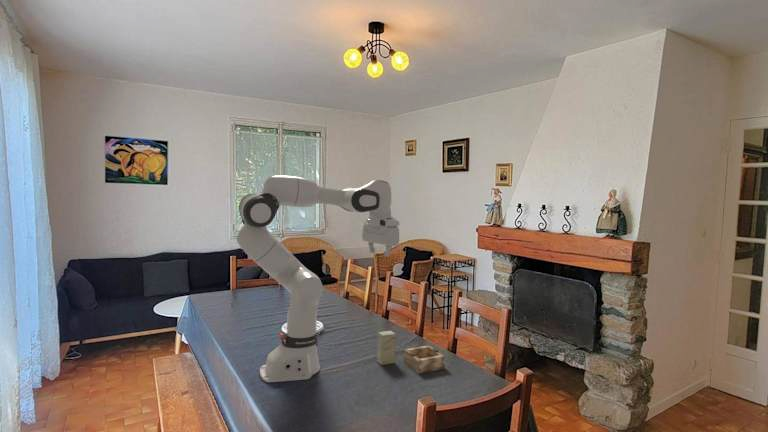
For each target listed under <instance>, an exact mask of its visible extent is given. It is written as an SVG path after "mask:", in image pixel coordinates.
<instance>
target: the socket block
mask: <svg viewBox="0 0 768 432" xmlns="http://www.w3.org/2000/svg"><path fill="white" fill-rule="evenodd" d="M403 363H404V364H406V365H407V366H408V367H409V368H410V369H412V370H413V371H414V372H415V373H416V374H417V375H419V374H424V373H429V372H433V371H439V370H444V369H445V367H446V366H445V365H446V356H445V355H444V354H443V353H441V352H440V351H439V349H437V348H434V347H433V346H431V345H423V346H417V347H410V348H405V349H403Z"/></svg>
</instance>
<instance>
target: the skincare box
mask: <svg viewBox="0 0 768 432" xmlns="http://www.w3.org/2000/svg"><path fill="white" fill-rule="evenodd" d="M376 351H377V353H376V362H377V363H378V364H380V365H381V366H385V365H389V364H390V365H391V364H395V360H396V358H395V357H396V333H395V332H393V331H392V330H391V329H390V330H383V331H378V332H377V347H376Z"/></svg>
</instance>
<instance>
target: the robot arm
mask: <svg viewBox="0 0 768 432" xmlns="http://www.w3.org/2000/svg"><path fill="white" fill-rule="evenodd" d="M262 188H263V189H262V190H261V192H259V193H249V194H247V195H245V196H243V197H242V198H241V200H240V203H239V205H238V210H239V215H240V219H241V221H242V224H243V227H242V228H241V229H240V230H239V232H238V233H237V236H236V242H237V243H238V244H237V245H239V246H240V248H241V249H242V250H243V251H244V253H245V254H246V255H247V256H248V257H249V258H250V259H251V260H252V261H253V262H255V264H257V265H258V266H259V267H260V268H261V269H262V270H263V271H264V272H265V273H267V275H269V276H270V277H272V278H273V279H274V281H276V282H277V283H278V284H280V285H281V286H282V287H283V288H284V289H285V290H287V292H289V293H290V294H289V295H290V301H289V302H290V303H289V307H288V311H287V312H286V313H287V314H286V315H287V316H286V333H285V334H284V332H279V334H278V338H279V339H280V340H281V343H280V344H279V345H278V346H277V347H276V348H275V349H273V350H271V352H269V353H268V355H267V358H266V362H265V364H262V366H261V367H260V368H259V376H260V379H261V380H262V381H264V382H265V383H279V382H293V381H294V382H295V381H303V380H304V381H305V380H310V379H311V378H312V377H313V376H314V375H315V374H317V373H318V372H319V371H320V370H321V365H320V361H319V356H318V343H319V339H318V338H319V337H318V332H317V318H318V317H317V316H318V314H317V313H318V309H319V308H318V307H319V302H320V299H321V296H322V295H323V291H324V286H323V283H322V281H321V279H320V277H319V276H318V275H317V274H316V273H314V272H313V271H311V270H309V269H308V268H307V267H306V266H305V265H304V264H303V263H301V261H300V260H299V259H298V258H297V257H296V256H295V255H294V254H293V253H292V252H291V250H289V249H288V248H286V247H285V245H283V244H282V243H281V241H280V240H278V239H277V238H276V237H275V236H274V235H272V234H271V232H269V230H268V229H267V228H268V227H267V226H269V225H270V224H271V223H272V222H273V220H274V219H275V217H276V215H277V213H278V210H279V208H280V207H282V206H284V207H287V206H288V207H292V208H293V207H294V208H309V207H313V206H314V205H317V204H324V205H330V206H331V205H333V206H338V207H340V208H342V209H343V210H345V211H347V212H355V213H367V212H369V214H368V217H369V218H367V219H366V220H365V221H364V224H363V227H362V233H361V234H362V235H361V236H362V237H361V238H362V241H364V242H367V245H368V249H369V253H371V254H375V253H376V248H375V245H374V244H379V245H384V246H385V250H384V251H383V256H384V257H390V252H391V250H392V247H395V246H396V247H397V246H398V245H399V242H400V229H399V226H400V221H399V219H398V220H397V218H396V217H395V218H394V216H392V210H391V205H392V188H391V185H390V183H389V182H387V181H386V180H385V181H384V180H380V179H373V180H371V181H370V182H369V183H367V184H365V185H363V186H361V187H351V186H350V187H346V188H343V189H334V188H333V189H332V188H327V187H323V186H319V185H318V184H317V183H316V181H314V180H311V179H309V178H305V177H302V176H301V177H300V176H294V175H293V176H292V175H272V176H269V177H267V179H266V180H265V181H264V184H263V187H262Z"/></svg>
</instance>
